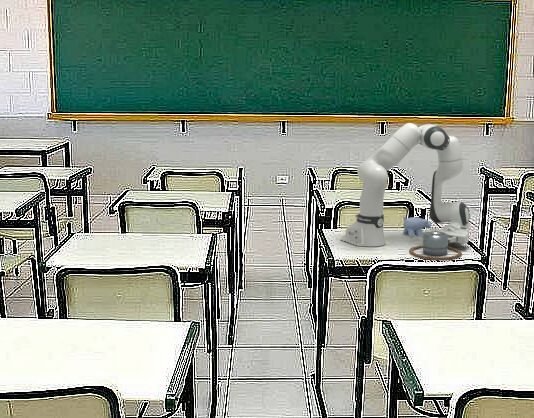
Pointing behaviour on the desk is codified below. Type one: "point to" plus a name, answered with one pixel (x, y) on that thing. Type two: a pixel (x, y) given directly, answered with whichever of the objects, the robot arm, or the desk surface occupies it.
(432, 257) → the locating ring
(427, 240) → the metal cover
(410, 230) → the hippopotamus toy
